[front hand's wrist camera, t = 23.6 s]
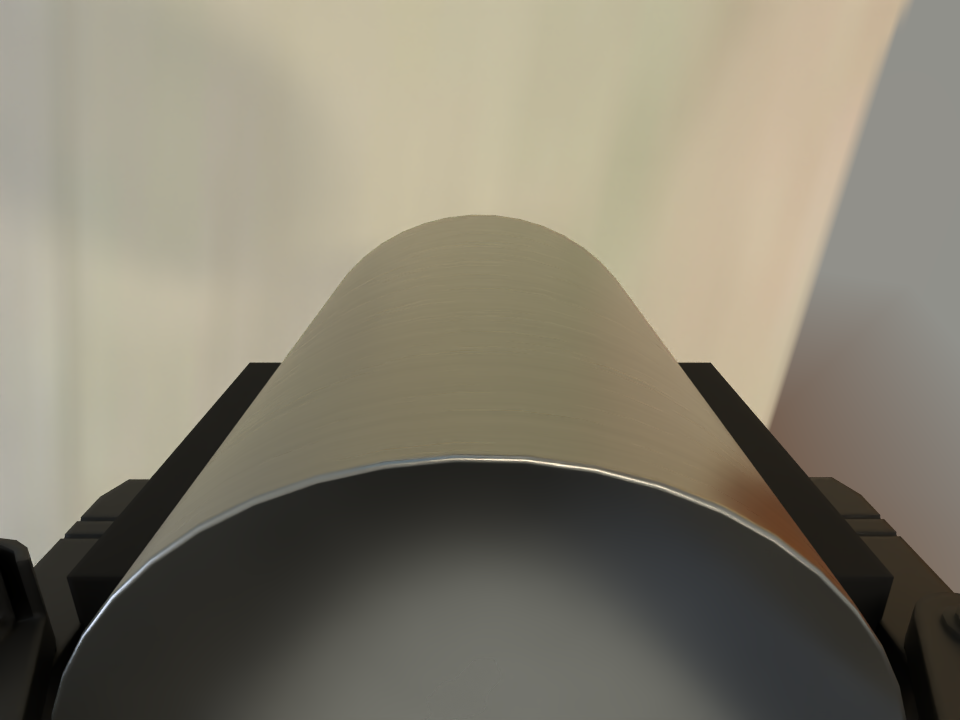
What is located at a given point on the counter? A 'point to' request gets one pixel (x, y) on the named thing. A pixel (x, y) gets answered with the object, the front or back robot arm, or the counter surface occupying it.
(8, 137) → the counter surface
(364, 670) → the canister
